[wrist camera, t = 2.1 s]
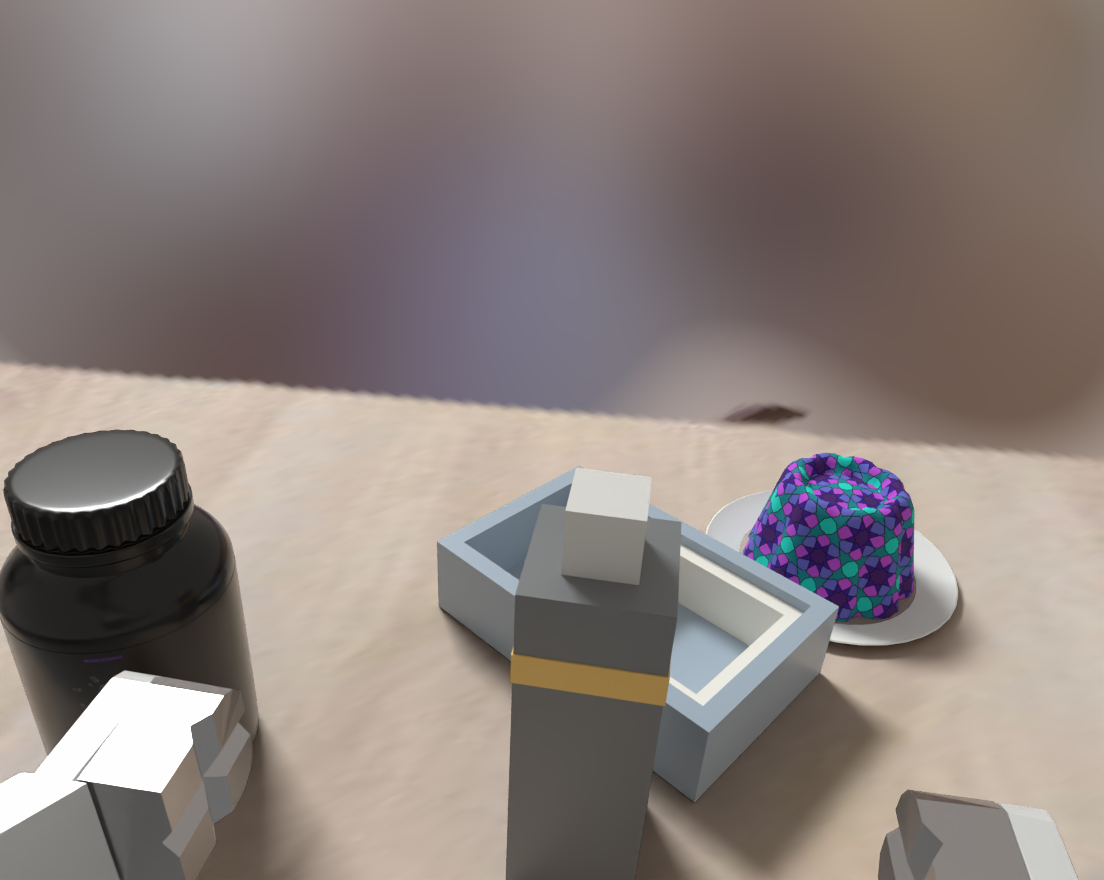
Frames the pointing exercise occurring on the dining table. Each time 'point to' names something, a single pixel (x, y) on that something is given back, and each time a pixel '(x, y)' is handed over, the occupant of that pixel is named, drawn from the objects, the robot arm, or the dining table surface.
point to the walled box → (700, 637)
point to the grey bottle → (589, 679)
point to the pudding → (846, 546)
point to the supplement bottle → (116, 577)
